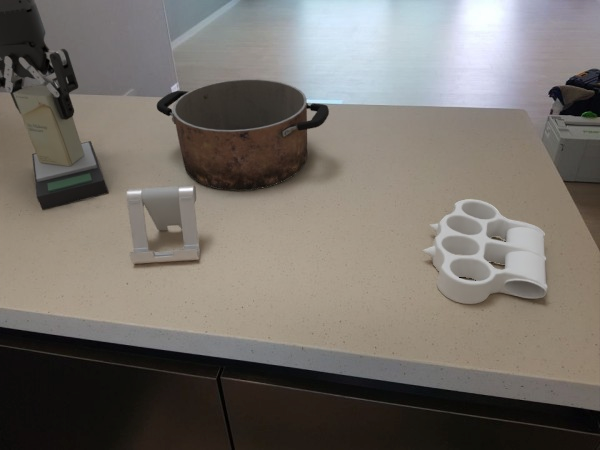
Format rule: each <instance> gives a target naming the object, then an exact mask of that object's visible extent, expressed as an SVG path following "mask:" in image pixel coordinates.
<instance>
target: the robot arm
mask: <svg viewBox="0 0 600 450" xmlns="http://www.w3.org/2000/svg"><path fill="white" fill-rule="evenodd" d="M45 36H46V28H45V25H44V24H43V20H42V18H41V15H40V12H39V8H38V6H37V3H36V1H35V0H0V73H1V76H0V88H3V89H5V91H6V92H8V93H9V94H10V96H11V98H12V101H13V103H14V106H15V108H16V109H17V111H18V113H19V114H20V115H21V113H20V110H19V108H18V105H17V102H16V100H15V97H14V95H13V93H14V92H16V91H18V90H20V89H22V88H24V87H25V86H24V85H25V79H26V78H29V79H32V80H36V81H37V82H38V83H39V85H43V86H46V87H47V88H48V90H49V91H50V92H51V93H52V94H53V95H54V96H55V97H53V98H54V101H55V104H56V107H57V109H58V112H59V115H60V118H61V119H64V120H67V119H69V118H71V117H72V116H73V117H74V114H75V108H74V105H73V103H72V100H71V97H70V93H72V92H73V91H76V90H77V89H79V84H78V81H77V77H76V74H75V70H74V67H73V64H72V61H71V58H70V54H69V52H68V50H66V49H65V48H61V49H58V50H51V49H50V48H49V47H48V45H47V44H46V42H45ZM48 72H49V75H46V74H48ZM56 86H57V87H58V88H57V87H56Z"/></svg>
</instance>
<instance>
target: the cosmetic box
mask: <svg viewBox="0 0 600 450" xmlns="http://www.w3.org/2000/svg"><path fill="white" fill-rule="evenodd" d="M55 86H56V87H57V88H58V87H59V86H58V85H55ZM13 95H14V97H15V100H16V102H17V105H18V108H19V110H20V113H21V114H20V113H19V114H20V115H21V118H22V120H23V123H24V126H25V128H26V132H27V134H28V136H29V138H30V141H31V144H32V146H33V149H34V153H36V154H37V157H38V160H39V162H41V163H48V164H55V165H62V166H71V165H72V164H74V163H75V162H76V161H78V160H79V159H80V158H82V157H83V156H84V151H83V148H82V145H81V143H82V142H81V139H80V136H79V132H78V129H77V126H76V123H75V120H74V115H73V116H72V117H71V118H69V119H67V120H64V119H61V118H60V115H59V112H58V109H57V107H56V104H55V101H54V98H53V97H55V96H54V95H53V94H52V93H51V92H50V91H49V90H48V88H47V87H46V86H43V85H41V84H33V83H30V84H29V85H26V86H23V87H22V89H20V90H18V91H16V92H14V93H13Z"/></svg>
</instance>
